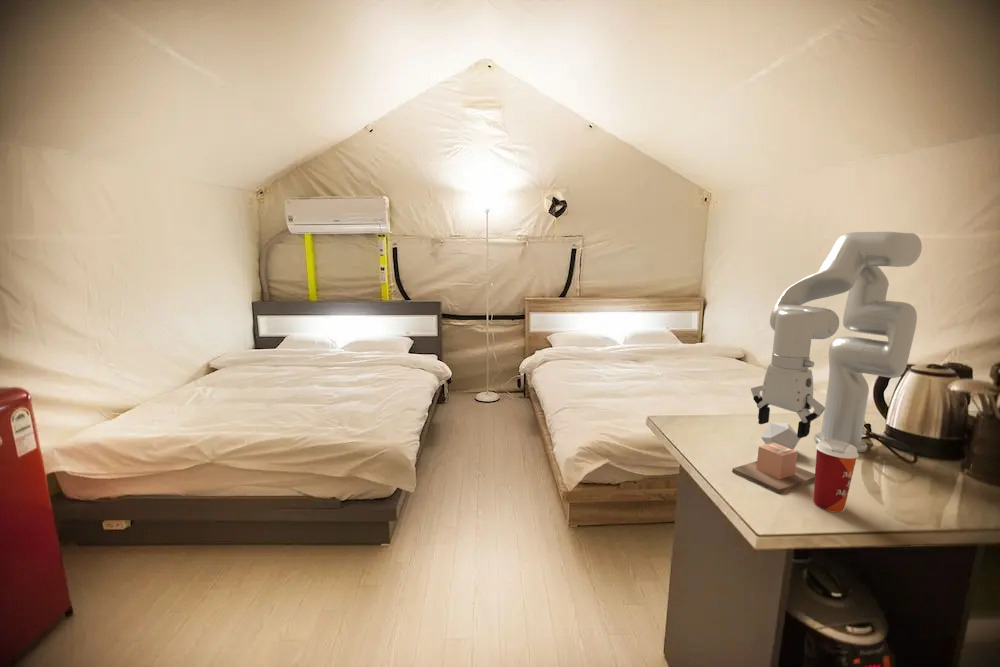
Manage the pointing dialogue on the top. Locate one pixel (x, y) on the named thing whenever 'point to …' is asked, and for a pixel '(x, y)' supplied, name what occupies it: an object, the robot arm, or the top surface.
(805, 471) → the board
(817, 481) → the paper cup
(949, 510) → the top surface
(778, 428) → the die
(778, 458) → the lettered cube
